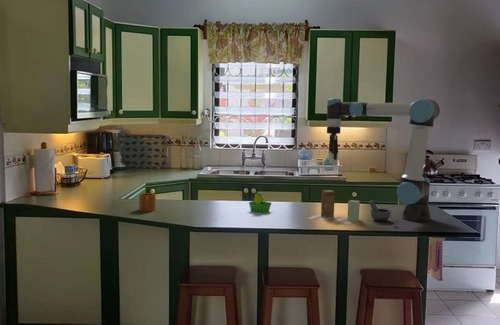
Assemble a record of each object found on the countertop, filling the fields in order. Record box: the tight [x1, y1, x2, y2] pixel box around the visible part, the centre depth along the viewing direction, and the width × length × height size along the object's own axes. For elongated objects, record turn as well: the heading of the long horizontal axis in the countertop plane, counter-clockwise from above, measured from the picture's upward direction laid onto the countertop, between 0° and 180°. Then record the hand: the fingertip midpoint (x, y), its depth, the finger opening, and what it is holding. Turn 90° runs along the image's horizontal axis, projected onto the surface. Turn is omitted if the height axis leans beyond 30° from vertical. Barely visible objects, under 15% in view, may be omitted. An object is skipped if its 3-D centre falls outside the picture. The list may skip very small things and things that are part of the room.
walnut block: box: [320, 189, 336, 218], centre depth 281 cm, size 5×5×14 cm
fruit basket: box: [248, 192, 272, 214], centre depth 300 cm, size 11×9×11 cm
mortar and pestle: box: [368, 199, 392, 223], centre depth 276 cm, size 11×9×12 cm
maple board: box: [306, 213, 361, 226], centre depth 277 cm, size 24×14×2 cm, turn 58°
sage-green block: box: [346, 199, 361, 223], centre depth 275 cm, size 5×5×10 cm
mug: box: [138, 192, 156, 213], centre depth 296 cm, size 9×12×9 cm
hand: (333, 164), depth 300 cm, fingers open, 13 cm apart
